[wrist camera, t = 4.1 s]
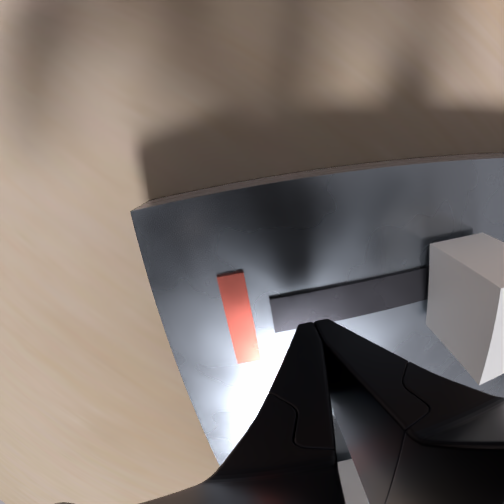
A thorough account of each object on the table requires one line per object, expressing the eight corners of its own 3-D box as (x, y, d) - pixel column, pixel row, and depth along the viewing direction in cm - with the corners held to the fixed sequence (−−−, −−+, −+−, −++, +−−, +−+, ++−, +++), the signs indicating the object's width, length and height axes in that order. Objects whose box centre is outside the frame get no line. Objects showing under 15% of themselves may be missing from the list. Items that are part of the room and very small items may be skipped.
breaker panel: (558, 152, 10) (585, 157, 8) (475, 476, 19) (483, 490, 17) (149, 200, 11) (129, 211, 9) (266, 537, 19) (268, 556, 17)
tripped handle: (482, 232, 9) (554, 267, 6) (475, 308, 10) (532, 357, 7) (429, 243, 9) (500, 288, 6) (425, 324, 10) (478, 385, 7)
